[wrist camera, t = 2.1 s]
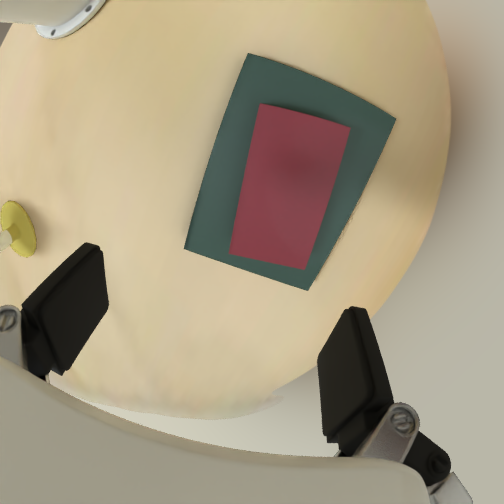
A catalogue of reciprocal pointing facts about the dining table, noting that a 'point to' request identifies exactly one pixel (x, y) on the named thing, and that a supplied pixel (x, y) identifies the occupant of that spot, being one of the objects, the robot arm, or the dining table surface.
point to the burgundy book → (286, 185)
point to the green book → (237, 149)
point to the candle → (17, 230)
